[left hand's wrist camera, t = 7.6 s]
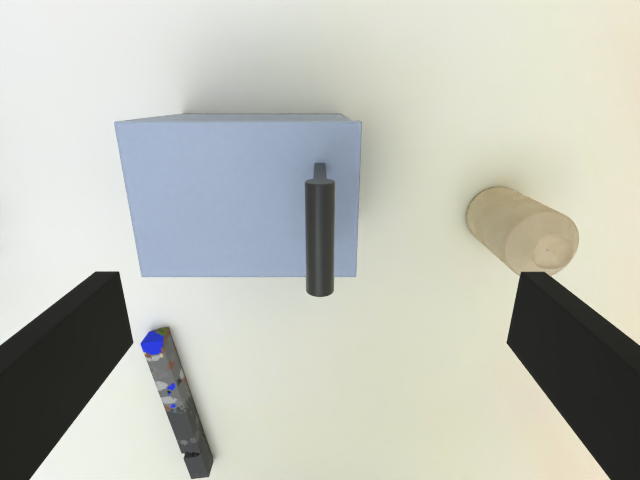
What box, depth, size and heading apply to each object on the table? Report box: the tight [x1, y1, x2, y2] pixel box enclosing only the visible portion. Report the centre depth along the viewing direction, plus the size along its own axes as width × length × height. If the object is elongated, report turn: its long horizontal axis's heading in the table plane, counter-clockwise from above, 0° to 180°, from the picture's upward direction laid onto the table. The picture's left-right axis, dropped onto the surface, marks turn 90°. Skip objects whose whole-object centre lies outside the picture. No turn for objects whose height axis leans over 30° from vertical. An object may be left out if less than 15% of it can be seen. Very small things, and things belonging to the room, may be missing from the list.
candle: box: [466, 187, 579, 276], centre depth 32 cm, size 6×6×10 cm
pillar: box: [141, 328, 213, 479], centre depth 44 cm, size 2×2×20 cm
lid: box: [114, 121, 362, 297], centre depth 22 cm, size 15×10×8 cm
